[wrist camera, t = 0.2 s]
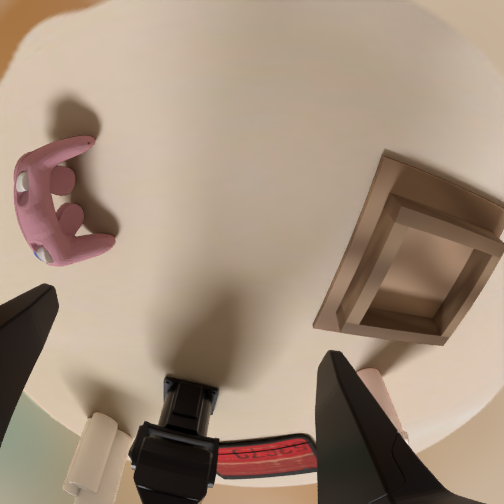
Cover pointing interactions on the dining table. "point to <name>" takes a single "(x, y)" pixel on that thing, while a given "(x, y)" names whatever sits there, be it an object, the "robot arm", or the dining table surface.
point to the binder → (267, 458)
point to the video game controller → (42, 209)
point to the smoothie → (381, 396)
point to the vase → (98, 462)
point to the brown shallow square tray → (413, 259)
